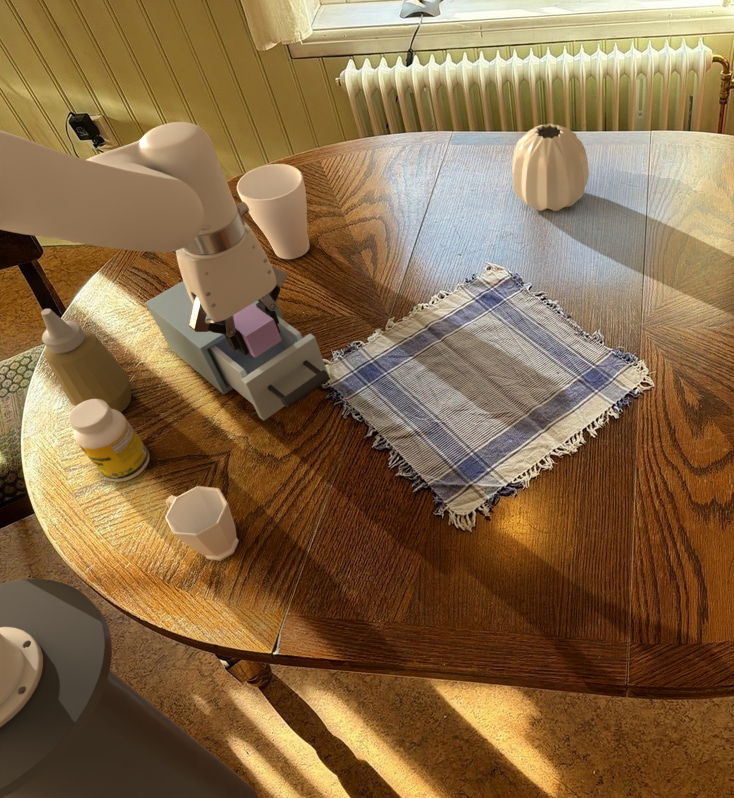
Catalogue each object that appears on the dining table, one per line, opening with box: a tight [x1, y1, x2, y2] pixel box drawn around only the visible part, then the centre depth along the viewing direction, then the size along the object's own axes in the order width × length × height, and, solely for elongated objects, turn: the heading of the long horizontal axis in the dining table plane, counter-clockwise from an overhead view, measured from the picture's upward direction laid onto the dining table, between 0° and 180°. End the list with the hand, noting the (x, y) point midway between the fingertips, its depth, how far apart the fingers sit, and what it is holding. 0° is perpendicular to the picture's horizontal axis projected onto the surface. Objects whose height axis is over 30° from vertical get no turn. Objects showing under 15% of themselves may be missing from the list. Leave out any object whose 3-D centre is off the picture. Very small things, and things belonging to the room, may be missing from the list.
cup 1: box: [164, 485, 240, 561], centre depth 90 cm, size 7×10×8 cm
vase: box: [511, 123, 590, 212], centre depth 133 cm, size 14×14×13 cm
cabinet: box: [144, 280, 284, 395], centre depth 111 cm, size 15×13×10 cm
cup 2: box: [236, 163, 311, 260], centre depth 125 cm, size 10×10×14 cm
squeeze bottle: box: [40, 308, 132, 413], centre depth 101 cm, size 8×8×18 cm
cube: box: [233, 304, 282, 358], centre depth 101 cm, size 4×5×4 cm
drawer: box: [207, 316, 331, 422], centre depth 105 cm, size 18×11×8 cm, turn 49°
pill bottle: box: [68, 399, 150, 483], centre depth 96 cm, size 6×6×11 cm
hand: (256, 338), depth 102 cm, fingers closed on cube, 4 cm apart
